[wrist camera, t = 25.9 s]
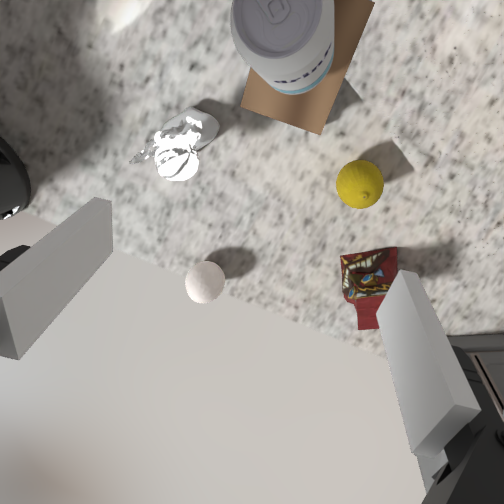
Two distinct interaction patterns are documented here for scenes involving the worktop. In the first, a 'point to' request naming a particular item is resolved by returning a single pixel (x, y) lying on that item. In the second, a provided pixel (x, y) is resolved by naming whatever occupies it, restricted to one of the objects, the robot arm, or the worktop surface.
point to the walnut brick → (324, 94)
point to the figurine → (180, 144)
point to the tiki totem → (368, 282)
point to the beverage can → (285, 40)
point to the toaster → (494, 378)
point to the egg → (205, 282)
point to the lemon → (360, 184)
